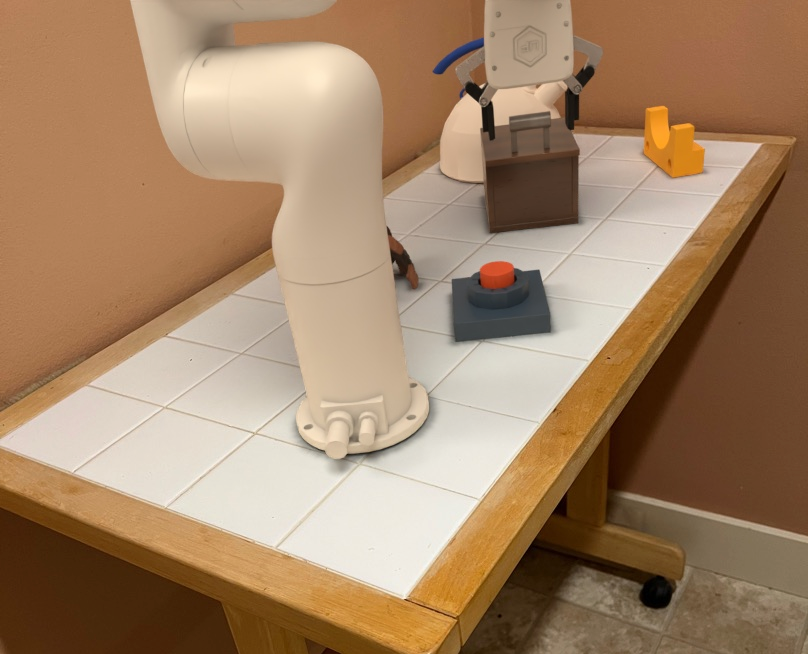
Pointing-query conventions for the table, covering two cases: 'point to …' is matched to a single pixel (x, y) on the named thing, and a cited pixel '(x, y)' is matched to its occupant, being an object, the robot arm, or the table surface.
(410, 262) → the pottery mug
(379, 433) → the robot arm
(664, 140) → the pipe clamp
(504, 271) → the button
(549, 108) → the kettle
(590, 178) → the table surface
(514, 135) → the box lid
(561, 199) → the lidded box
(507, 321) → the control block
